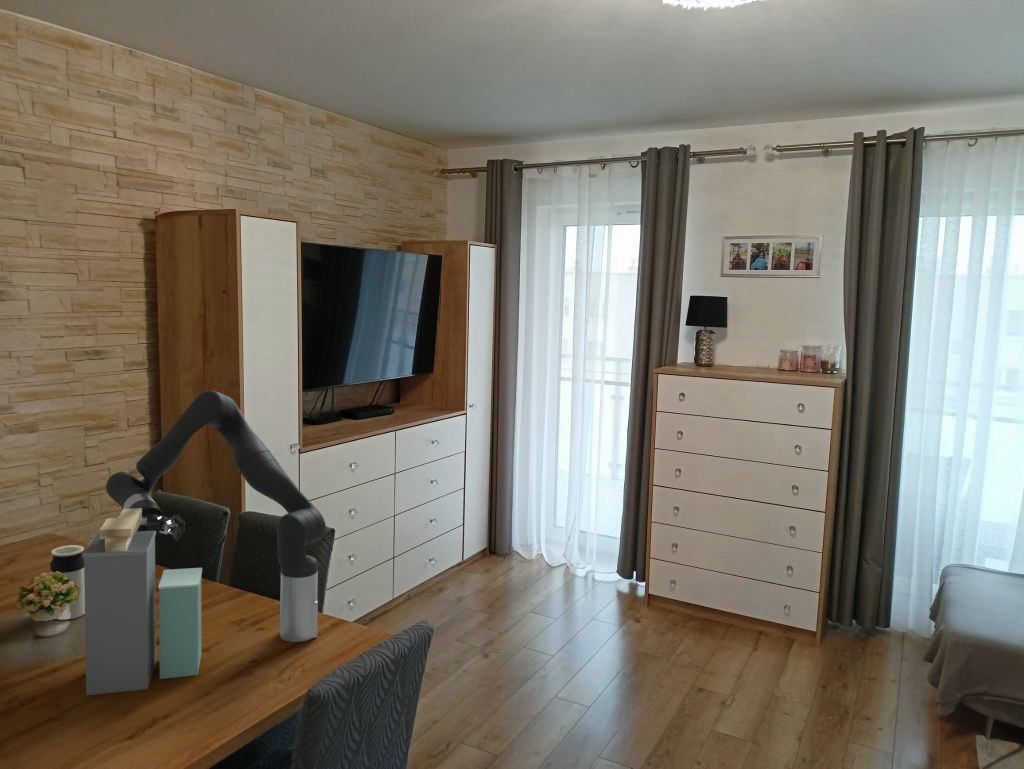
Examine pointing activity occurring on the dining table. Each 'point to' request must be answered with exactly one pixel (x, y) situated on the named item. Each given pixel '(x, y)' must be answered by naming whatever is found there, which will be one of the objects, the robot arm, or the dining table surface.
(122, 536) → the beige stepped bar
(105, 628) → the stand
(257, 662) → the dining table surface
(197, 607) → the tall pale green pillar
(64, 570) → the travel mug
